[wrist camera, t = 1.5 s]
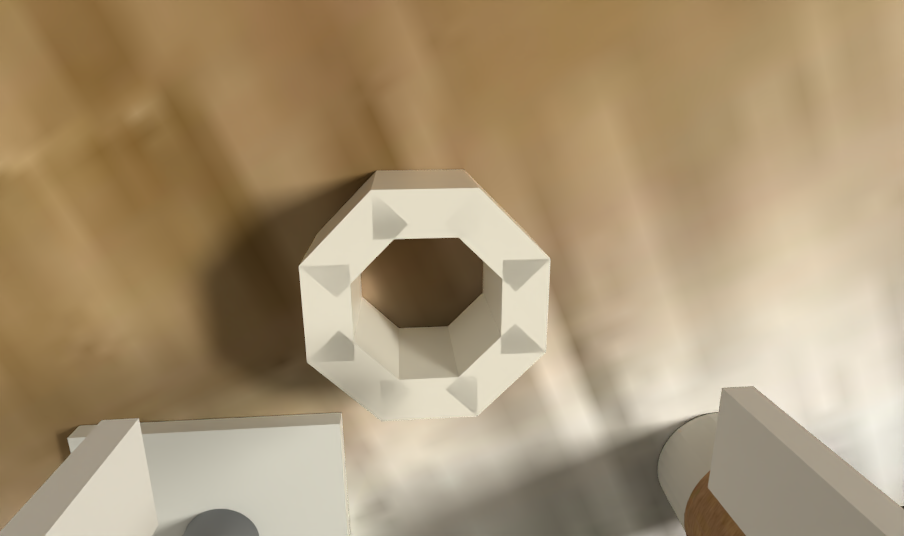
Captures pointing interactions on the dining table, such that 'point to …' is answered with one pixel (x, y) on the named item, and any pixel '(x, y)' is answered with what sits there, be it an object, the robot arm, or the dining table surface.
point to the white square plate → (246, 475)
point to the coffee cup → (694, 479)
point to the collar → (424, 348)
